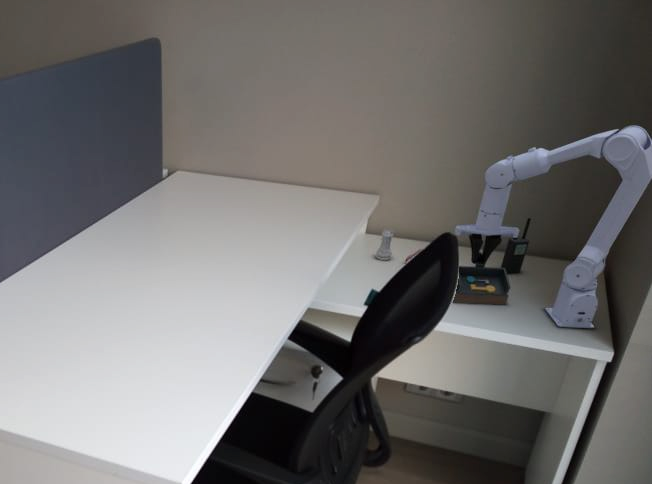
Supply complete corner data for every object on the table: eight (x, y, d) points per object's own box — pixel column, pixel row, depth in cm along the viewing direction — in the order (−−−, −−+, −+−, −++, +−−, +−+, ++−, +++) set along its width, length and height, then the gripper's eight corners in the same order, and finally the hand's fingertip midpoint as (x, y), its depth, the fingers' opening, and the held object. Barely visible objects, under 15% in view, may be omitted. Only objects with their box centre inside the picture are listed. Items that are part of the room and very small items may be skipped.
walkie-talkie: (505, 274, 198) (521, 221, 190) (498, 269, 201) (513, 216, 193) (521, 272, 199) (537, 219, 191) (514, 267, 202) (530, 215, 193)
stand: (505, 304, 182) (508, 295, 181) (451, 302, 184) (454, 293, 183) (496, 291, 189) (499, 283, 187) (444, 289, 190) (447, 280, 189)
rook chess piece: (372, 255, 210) (377, 228, 206) (387, 254, 211) (392, 228, 206) (378, 261, 207) (383, 234, 202) (393, 260, 207) (399, 233, 203)
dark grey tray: (506, 295, 181) (512, 283, 178) (456, 293, 182) (461, 281, 179) (498, 265, 188) (503, 252, 184) (449, 263, 189) (454, 250, 186)
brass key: (493, 286, 182) (494, 285, 182) (495, 293, 181) (496, 291, 181) (470, 285, 183) (470, 284, 183) (471, 292, 182) (472, 290, 181)
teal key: (466, 283, 184) (467, 281, 183) (465, 277, 185) (466, 276, 184) (488, 284, 183) (489, 282, 183) (487, 278, 184) (488, 277, 184)
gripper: (518, 206, 180) (503, 257, 188) (457, 204, 182) (445, 255, 189) (527, 215, 175) (511, 268, 182) (464, 213, 176) (451, 266, 184)
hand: (478, 262), depth 185 cm, fingers closed on dark grey tray, 2 cm apart
